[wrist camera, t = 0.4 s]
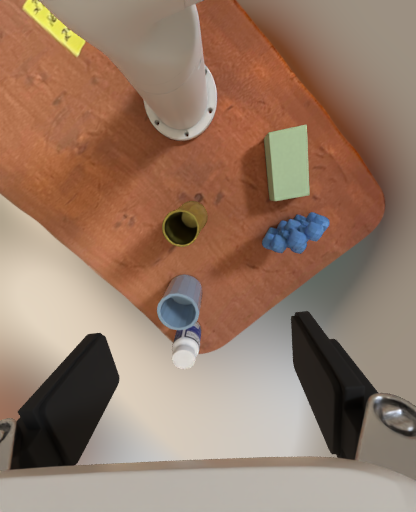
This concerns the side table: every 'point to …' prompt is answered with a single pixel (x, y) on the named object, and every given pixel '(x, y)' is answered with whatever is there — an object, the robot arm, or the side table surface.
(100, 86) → the side table surface
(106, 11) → the robot arm
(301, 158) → the pale sage-green block
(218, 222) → the side table surface
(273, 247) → the grapes
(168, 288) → the cup
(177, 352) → the pill bottle
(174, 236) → the vase
